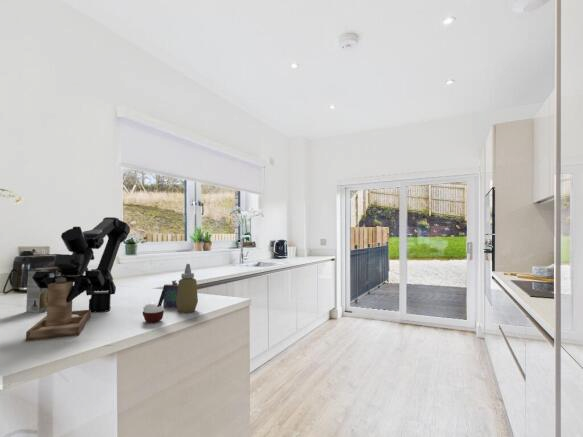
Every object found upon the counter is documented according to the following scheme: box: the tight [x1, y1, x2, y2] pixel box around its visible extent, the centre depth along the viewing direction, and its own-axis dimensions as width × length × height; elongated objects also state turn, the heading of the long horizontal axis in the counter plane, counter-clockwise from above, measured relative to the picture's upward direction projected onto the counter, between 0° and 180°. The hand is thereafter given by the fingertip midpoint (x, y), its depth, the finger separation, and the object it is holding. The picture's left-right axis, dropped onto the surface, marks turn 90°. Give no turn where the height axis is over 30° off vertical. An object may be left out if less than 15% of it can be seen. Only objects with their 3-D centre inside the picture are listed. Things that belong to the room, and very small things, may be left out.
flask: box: [162, 280, 178, 309], centre depth 127 cm, size 9×3×11 cm, turn 71°
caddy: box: [25, 309, 92, 342], centre depth 97 cm, size 12×23×2 cm, turn 26°
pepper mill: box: [46, 277, 74, 326], centre depth 94 cm, size 5×5×14 cm
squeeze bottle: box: [176, 263, 199, 314], centre depth 120 cm, size 8×8×18 cm
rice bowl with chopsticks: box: [142, 285, 167, 324], centre depth 104 cm, size 10×6×12 cm, turn 48°
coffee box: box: [25, 266, 61, 313], centre depth 121 cm, size 9×6×16 cm
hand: (57, 302), depth 92 cm, fingers closed on pepper mill, 5 cm apart
